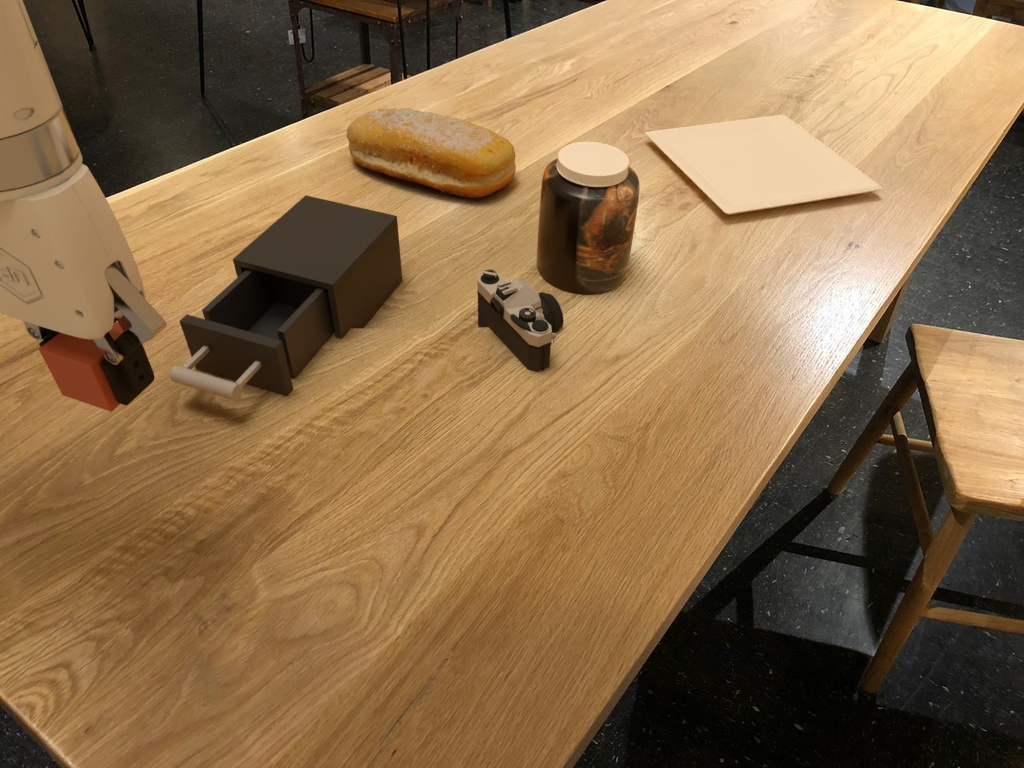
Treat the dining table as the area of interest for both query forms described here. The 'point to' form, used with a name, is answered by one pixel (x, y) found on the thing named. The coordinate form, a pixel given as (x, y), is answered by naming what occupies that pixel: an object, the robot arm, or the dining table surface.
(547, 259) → the jar
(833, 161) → the plate
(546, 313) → the camera
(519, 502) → the dining table surface
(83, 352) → the block
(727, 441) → the dining table surface
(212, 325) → the drawer
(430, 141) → the bread
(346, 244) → the cabinet
